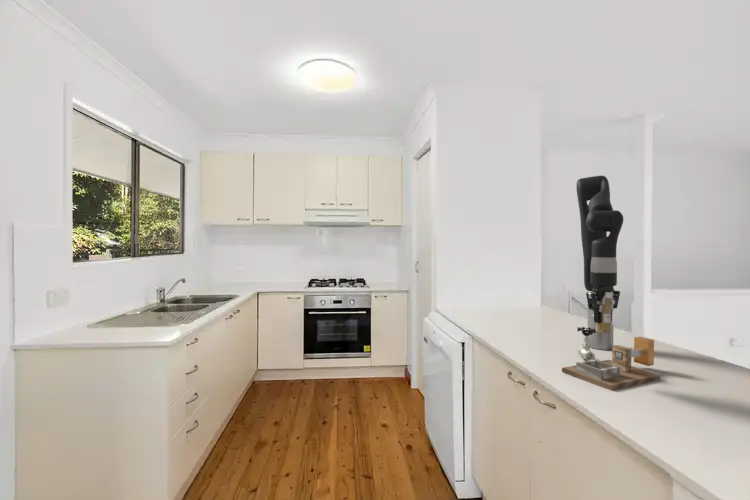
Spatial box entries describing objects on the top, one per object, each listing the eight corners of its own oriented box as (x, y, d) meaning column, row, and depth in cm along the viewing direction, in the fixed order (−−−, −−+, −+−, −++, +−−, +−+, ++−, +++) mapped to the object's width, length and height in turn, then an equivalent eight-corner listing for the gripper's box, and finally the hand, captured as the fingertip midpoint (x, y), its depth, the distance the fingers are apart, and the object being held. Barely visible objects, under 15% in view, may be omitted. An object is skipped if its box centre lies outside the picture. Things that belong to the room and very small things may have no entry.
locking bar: (639, 361, 139) (639, 336, 139) (653, 365, 135) (654, 339, 134) (611, 366, 133) (611, 340, 133) (625, 370, 129) (626, 344, 129)
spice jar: (611, 334, 123) (612, 292, 123) (595, 332, 125) (595, 291, 125) (610, 331, 127) (611, 291, 127) (594, 329, 129) (595, 290, 129)
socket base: (608, 363, 142) (608, 339, 142) (660, 379, 126) (660, 351, 126) (561, 372, 133) (562, 345, 133) (611, 390, 117) (611, 360, 116)
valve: (591, 357, 151) (591, 327, 150) (599, 362, 144) (599, 330, 144) (573, 356, 151) (574, 326, 151) (581, 361, 145) (581, 330, 145)
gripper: (607, 269, 132) (606, 318, 133) (578, 270, 126) (577, 321, 127) (628, 270, 125) (628, 322, 126) (599, 272, 120) (599, 326, 120)
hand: (602, 321), depth 126 cm, fingers closed on spice jar, 4 cm apart
